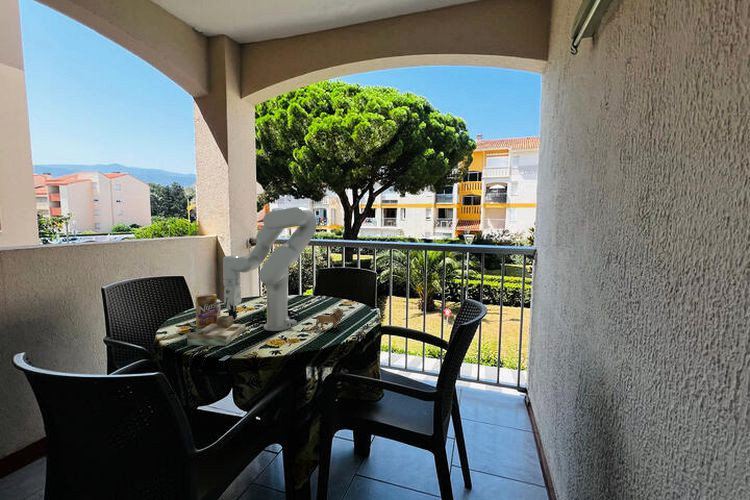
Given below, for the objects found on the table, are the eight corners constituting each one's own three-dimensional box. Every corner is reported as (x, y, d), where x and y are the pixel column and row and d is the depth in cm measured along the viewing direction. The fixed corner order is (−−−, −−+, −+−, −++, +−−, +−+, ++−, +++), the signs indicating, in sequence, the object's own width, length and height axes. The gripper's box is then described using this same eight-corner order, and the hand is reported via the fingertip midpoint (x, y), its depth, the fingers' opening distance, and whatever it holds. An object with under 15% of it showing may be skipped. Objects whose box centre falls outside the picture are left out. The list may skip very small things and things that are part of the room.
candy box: (197, 328, 167) (196, 296, 166) (195, 326, 171) (194, 295, 170) (217, 325, 172) (216, 294, 171) (216, 323, 176) (215, 293, 175)
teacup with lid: (219, 320, 181) (218, 298, 180) (199, 321, 179) (198, 298, 178) (223, 314, 193) (223, 293, 191) (205, 315, 191) (204, 293, 189)
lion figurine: (341, 325, 177) (341, 307, 176) (344, 328, 172) (345, 309, 171) (312, 328, 171) (312, 309, 171) (314, 331, 166) (314, 312, 166)
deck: (245, 329, 168) (245, 321, 167) (226, 345, 147) (226, 336, 146) (211, 328, 168) (211, 320, 167) (187, 344, 147) (187, 335, 146)
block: (233, 324, 167) (232, 315, 167) (227, 328, 161) (227, 319, 161) (222, 324, 167) (222, 315, 167) (216, 328, 161) (216, 319, 161)
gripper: (233, 284, 164) (234, 323, 165) (245, 279, 178) (246, 315, 180) (217, 284, 164) (218, 323, 165) (230, 278, 179) (231, 314, 180)
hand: (232, 319), depth 173 cm, fingers closed
